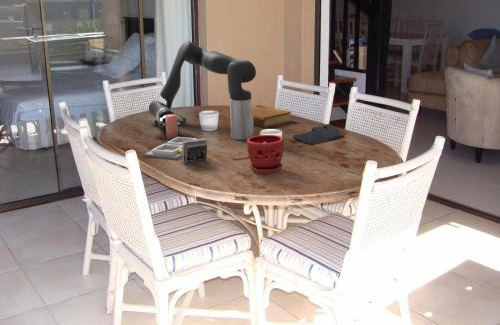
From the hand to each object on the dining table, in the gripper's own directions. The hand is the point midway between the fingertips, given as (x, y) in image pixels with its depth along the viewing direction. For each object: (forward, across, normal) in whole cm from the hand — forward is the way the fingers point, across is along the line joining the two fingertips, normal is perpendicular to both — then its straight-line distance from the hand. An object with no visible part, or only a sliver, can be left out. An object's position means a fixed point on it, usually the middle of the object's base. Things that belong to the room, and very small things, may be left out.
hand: (172, 124), depth 250 cm
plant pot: (+56, +23, +7) cm, 61 cm away
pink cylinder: (-2, 0, +6) cm, 7 cm away
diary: (-17, +47, +7) cm, 51 cm away
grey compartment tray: (+18, -2, +6) cm, 19 cm away
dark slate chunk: (+22, +59, +7) cm, 64 cm away
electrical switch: (+38, +1, +7) cm, 39 cm away
